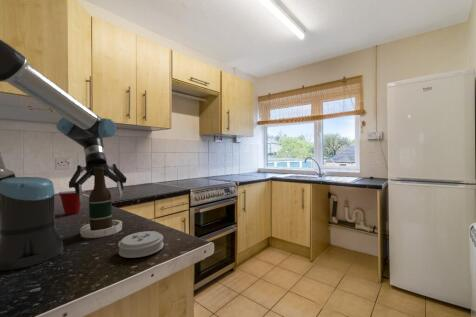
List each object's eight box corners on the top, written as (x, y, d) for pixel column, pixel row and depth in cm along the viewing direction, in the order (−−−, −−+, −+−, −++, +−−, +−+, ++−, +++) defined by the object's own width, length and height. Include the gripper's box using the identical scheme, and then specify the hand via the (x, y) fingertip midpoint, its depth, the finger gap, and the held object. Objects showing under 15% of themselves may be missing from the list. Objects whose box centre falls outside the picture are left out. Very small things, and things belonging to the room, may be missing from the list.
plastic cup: (90, 211, 120) (89, 189, 120) (73, 216, 109) (72, 192, 109) (71, 210, 121) (71, 189, 121) (53, 216, 110) (52, 192, 110)
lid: (130, 265, 59) (129, 247, 59) (111, 253, 67) (111, 236, 67) (171, 249, 69) (171, 233, 69) (150, 240, 77) (150, 225, 77)
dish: (106, 238, 79) (106, 231, 79) (71, 237, 80) (71, 231, 80) (129, 226, 92) (128, 220, 92) (98, 225, 93) (98, 219, 93)
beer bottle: (116, 227, 87) (113, 166, 87) (93, 233, 81) (90, 168, 81) (109, 224, 92) (106, 166, 92) (87, 229, 86) (84, 168, 86)
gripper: (125, 163, 105) (134, 199, 94) (59, 165, 90) (61, 209, 78) (127, 151, 101) (137, 188, 89) (59, 152, 86) (60, 196, 74)
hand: (102, 198), depth 84 cm, fingers open, 12 cm apart
